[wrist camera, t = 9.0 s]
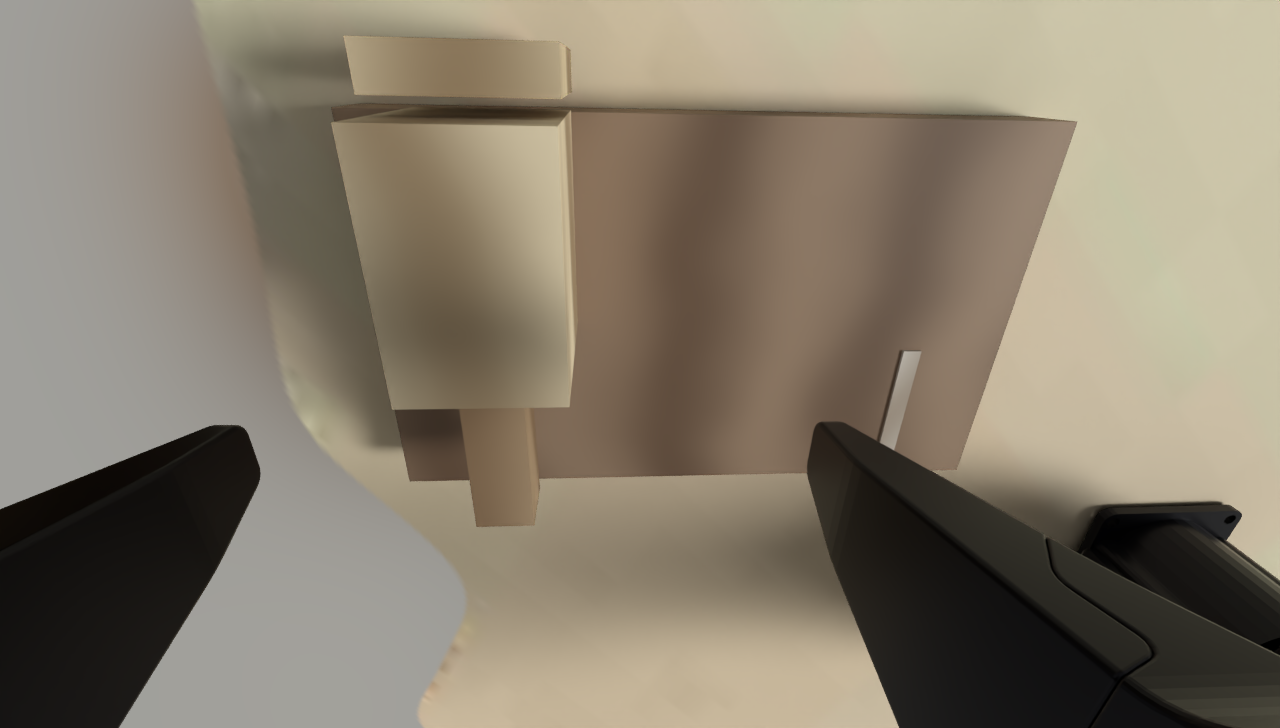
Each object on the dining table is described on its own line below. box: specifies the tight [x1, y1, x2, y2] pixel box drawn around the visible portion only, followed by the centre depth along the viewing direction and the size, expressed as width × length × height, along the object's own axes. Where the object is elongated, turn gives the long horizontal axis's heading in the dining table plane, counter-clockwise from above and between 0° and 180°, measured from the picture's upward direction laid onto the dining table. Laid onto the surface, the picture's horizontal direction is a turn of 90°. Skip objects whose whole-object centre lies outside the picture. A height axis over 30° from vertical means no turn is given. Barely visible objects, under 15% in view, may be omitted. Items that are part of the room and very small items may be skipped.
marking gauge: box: [331, 36, 578, 527], centre depth 15 cm, size 4×12×6 cm, turn 179°
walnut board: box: [331, 104, 1077, 481], centre depth 19 cm, size 20×12×2 cm, turn 89°
